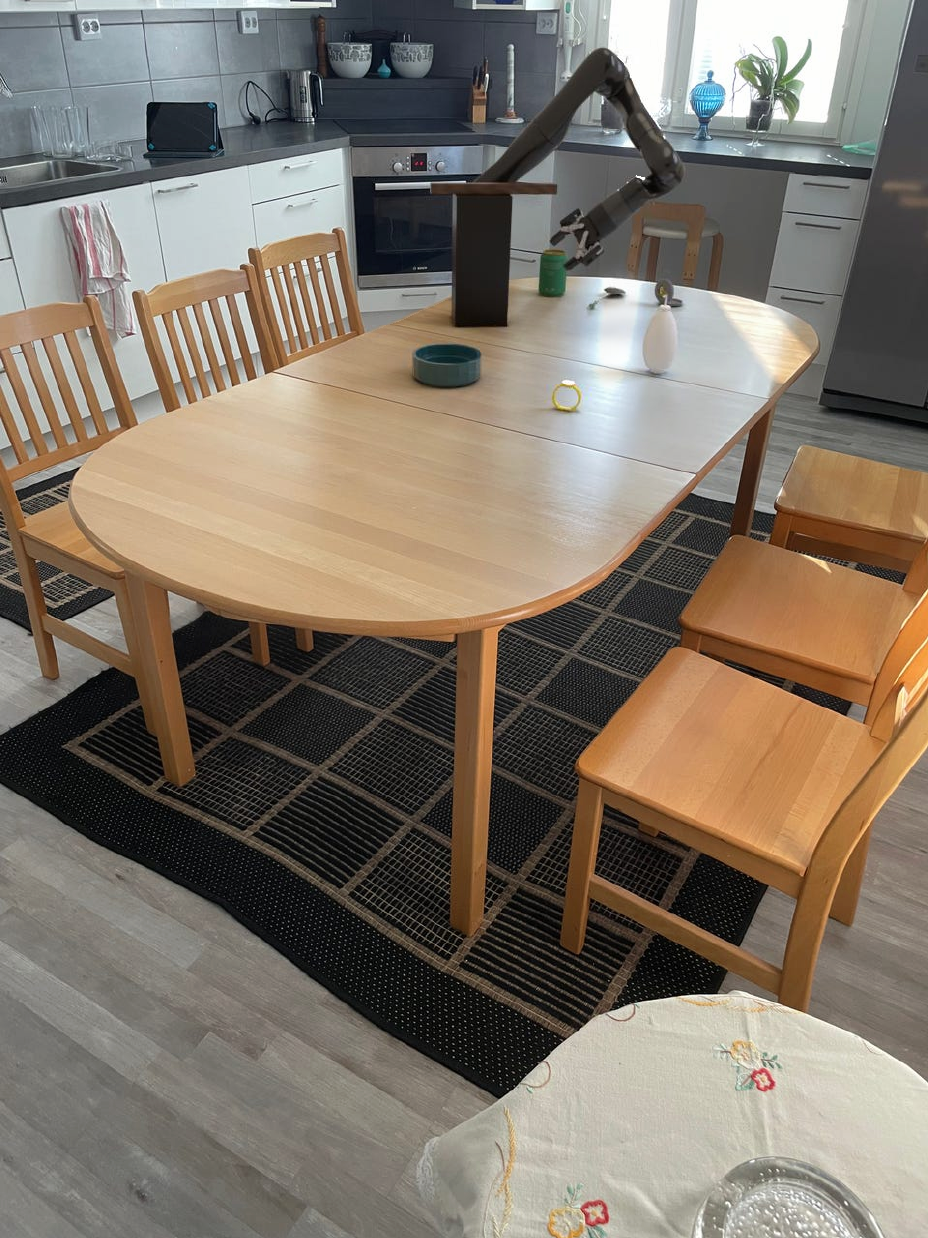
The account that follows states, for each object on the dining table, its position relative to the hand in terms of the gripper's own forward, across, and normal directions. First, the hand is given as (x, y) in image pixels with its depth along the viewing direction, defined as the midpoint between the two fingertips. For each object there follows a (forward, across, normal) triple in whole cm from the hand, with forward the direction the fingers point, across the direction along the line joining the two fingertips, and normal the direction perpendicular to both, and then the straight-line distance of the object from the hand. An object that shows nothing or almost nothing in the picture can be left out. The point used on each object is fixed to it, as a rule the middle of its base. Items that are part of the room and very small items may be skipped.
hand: (558, 255), depth 241 cm
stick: (+4, +19, +13) cm, 23 cm away
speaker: (+27, +1, -3) cm, 28 cm away
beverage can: (+13, +17, -36) cm, 41 cm away
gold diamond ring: (+9, -55, +31) cm, 64 cm away
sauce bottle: (-7, -45, +2) cm, 45 cm away
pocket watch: (-13, -3, -46) cm, 48 cm away
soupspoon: (+1, +6, -39) cm, 39 cm away
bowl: (+30, -31, +32) cm, 53 cm away
